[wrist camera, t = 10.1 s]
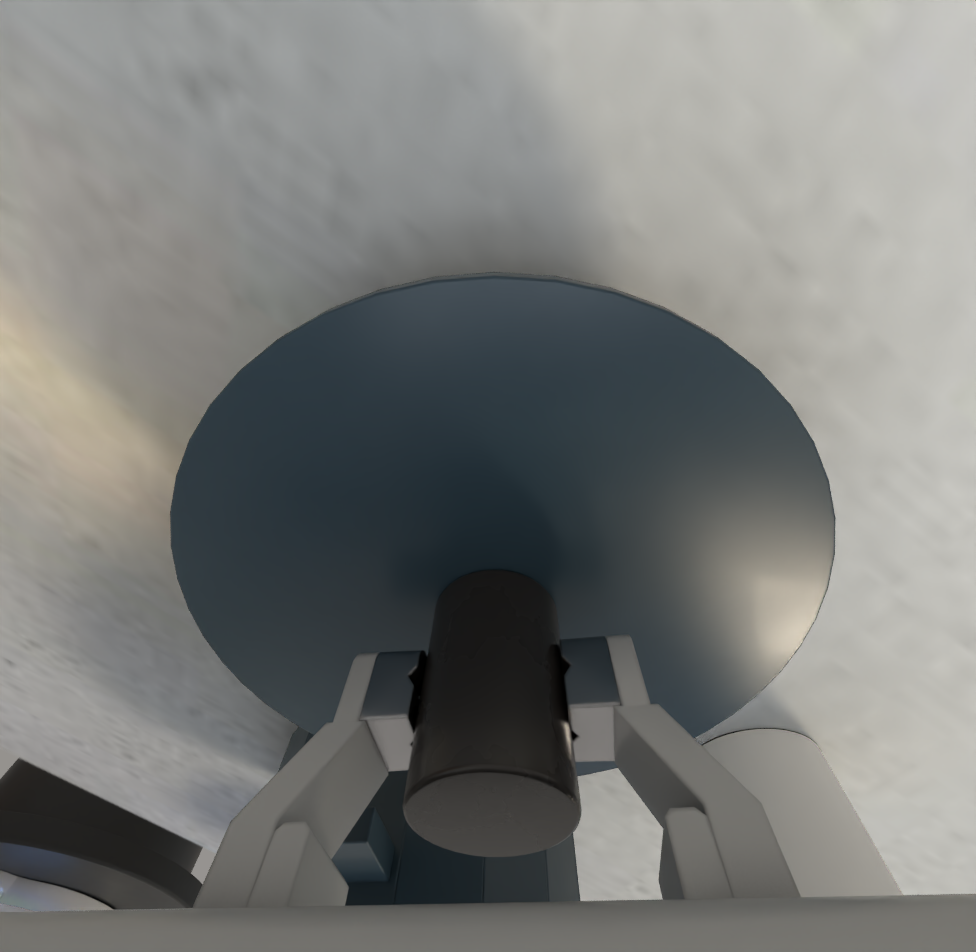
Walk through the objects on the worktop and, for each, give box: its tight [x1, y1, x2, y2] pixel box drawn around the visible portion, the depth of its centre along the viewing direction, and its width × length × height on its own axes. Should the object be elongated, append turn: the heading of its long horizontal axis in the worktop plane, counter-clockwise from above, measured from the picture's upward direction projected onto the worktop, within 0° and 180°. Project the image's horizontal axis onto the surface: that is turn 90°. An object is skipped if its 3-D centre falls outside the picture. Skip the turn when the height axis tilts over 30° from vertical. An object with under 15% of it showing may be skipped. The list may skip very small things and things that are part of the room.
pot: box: [278, 727, 580, 906], centre depth 22 cm, size 15×20×8 cm
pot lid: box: [170, 272, 835, 857], centre depth 10 cm, size 16×16×6 cm
